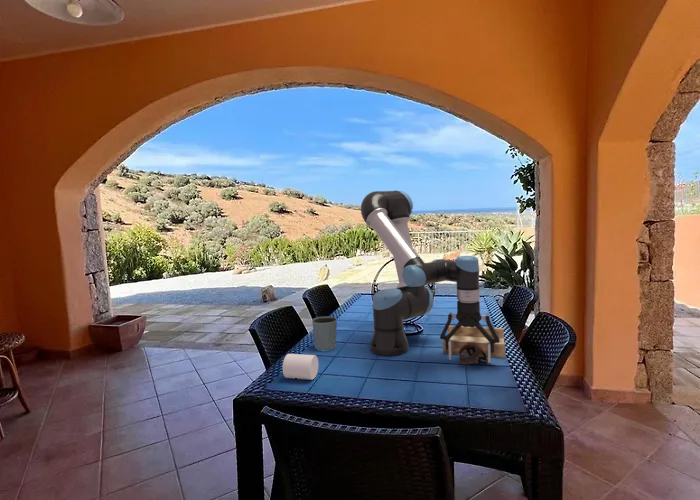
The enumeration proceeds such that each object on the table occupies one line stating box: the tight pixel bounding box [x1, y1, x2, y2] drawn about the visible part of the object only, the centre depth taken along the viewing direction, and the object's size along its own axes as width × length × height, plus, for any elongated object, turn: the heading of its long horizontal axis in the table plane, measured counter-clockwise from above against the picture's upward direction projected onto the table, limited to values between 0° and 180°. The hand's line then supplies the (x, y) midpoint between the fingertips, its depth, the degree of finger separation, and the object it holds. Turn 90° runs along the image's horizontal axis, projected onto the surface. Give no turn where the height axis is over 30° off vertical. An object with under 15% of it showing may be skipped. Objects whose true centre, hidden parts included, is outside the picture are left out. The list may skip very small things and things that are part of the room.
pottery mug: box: [458, 342, 489, 366], centre depth 133 cm, size 12×10×8 cm
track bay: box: [442, 324, 506, 359], centre depth 149 cm, size 22×19×5 cm
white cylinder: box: [282, 353, 319, 381], centre depth 131 cm, size 12×10×8 cm
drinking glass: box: [311, 315, 338, 351], centre depth 156 cm, size 10×10×12 cm
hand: (469, 359), depth 134 cm, fingers open, 12 cm apart
